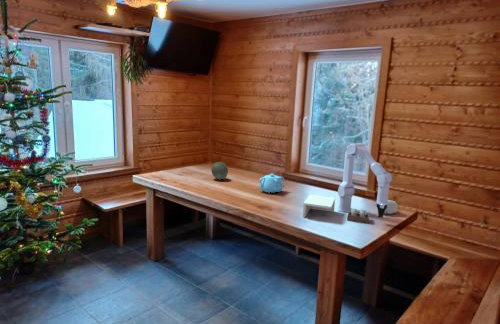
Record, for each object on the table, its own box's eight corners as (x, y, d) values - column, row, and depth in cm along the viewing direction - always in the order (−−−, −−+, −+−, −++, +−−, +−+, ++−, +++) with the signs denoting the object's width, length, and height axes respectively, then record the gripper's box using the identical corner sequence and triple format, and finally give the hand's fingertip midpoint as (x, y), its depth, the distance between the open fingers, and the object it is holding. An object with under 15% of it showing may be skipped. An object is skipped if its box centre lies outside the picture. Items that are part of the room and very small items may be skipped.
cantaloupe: (229, 178, 296) (230, 161, 293) (224, 182, 282) (225, 164, 280) (214, 177, 299) (214, 160, 296) (208, 180, 285) (208, 162, 283)
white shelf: (308, 207, 224) (309, 194, 222) (334, 211, 218) (335, 198, 217) (302, 217, 205) (303, 202, 203) (330, 221, 200) (331, 206, 198)
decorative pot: (267, 187, 271) (268, 170, 268) (286, 191, 262) (287, 173, 259) (256, 191, 257) (257, 174, 255) (275, 195, 248) (276, 177, 246)
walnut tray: (348, 216, 210) (348, 206, 209) (368, 219, 206) (369, 209, 205) (347, 220, 202) (347, 210, 201) (368, 223, 199) (369, 213, 197)
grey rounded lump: (377, 214, 215) (378, 210, 229) (397, 216, 211) (397, 212, 224) (379, 199, 214) (380, 196, 228) (399, 202, 210) (398, 199, 224)
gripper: (391, 198, 189) (388, 221, 192) (390, 191, 203) (387, 214, 205) (377, 196, 191) (374, 220, 194) (377, 190, 205) (374, 212, 207)
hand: (380, 216), depth 200 cm, fingers closed
